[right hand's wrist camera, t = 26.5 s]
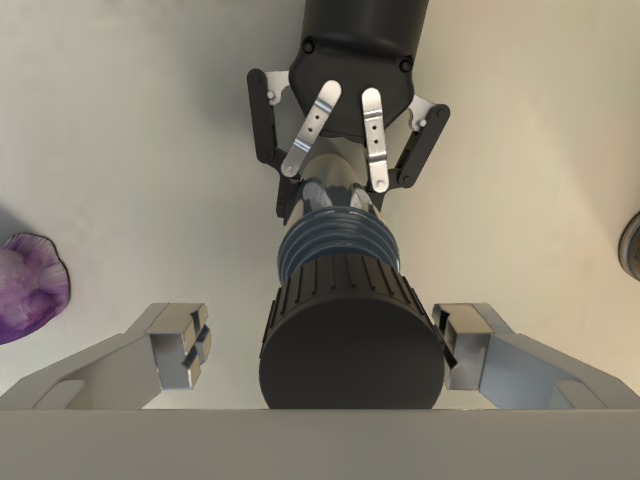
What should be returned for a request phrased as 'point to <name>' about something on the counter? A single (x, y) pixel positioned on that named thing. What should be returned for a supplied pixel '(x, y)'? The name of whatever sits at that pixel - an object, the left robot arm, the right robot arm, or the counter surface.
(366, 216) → the bottle
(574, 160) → the counter surface
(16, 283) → the figurine
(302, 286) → the cap
